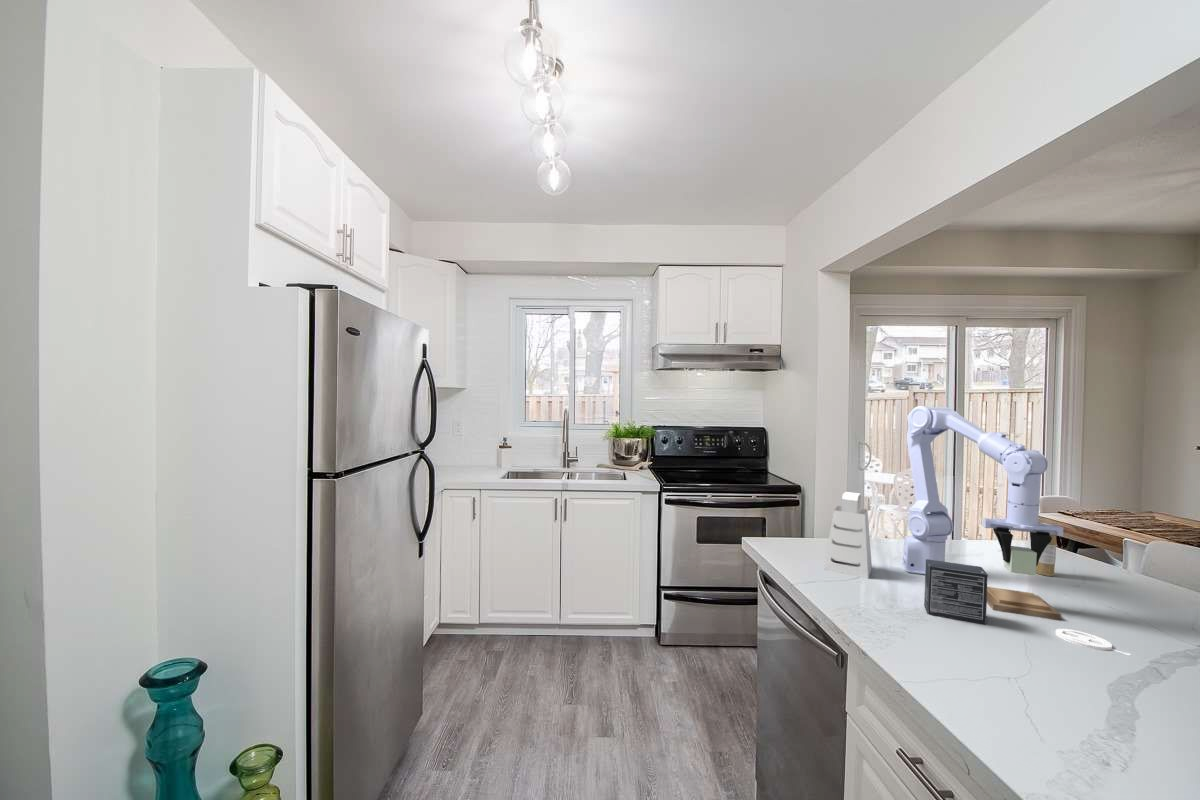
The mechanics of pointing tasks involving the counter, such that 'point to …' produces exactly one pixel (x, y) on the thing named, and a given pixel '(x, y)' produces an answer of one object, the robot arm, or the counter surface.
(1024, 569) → the sage block
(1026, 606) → the walnut base
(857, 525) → the grater
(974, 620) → the small box
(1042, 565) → the sprinkles bottle
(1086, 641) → the pendant
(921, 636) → the counter surface
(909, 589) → the counter surface
